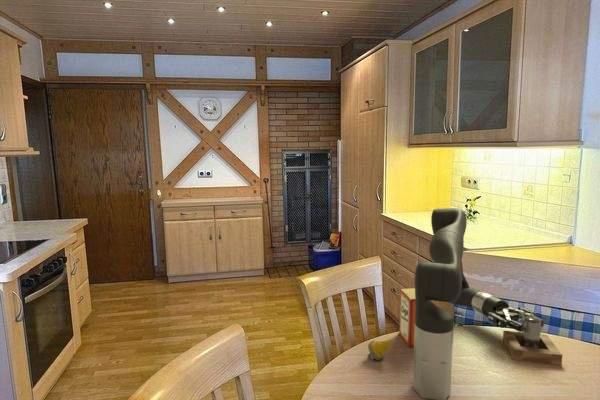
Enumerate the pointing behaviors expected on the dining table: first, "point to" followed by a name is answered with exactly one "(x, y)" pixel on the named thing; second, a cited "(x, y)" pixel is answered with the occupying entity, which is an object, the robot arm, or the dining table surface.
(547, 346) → the frame
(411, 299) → the baking soda box
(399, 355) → the dining table surface
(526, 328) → the metal tea canister
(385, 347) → the yellow cone tip
